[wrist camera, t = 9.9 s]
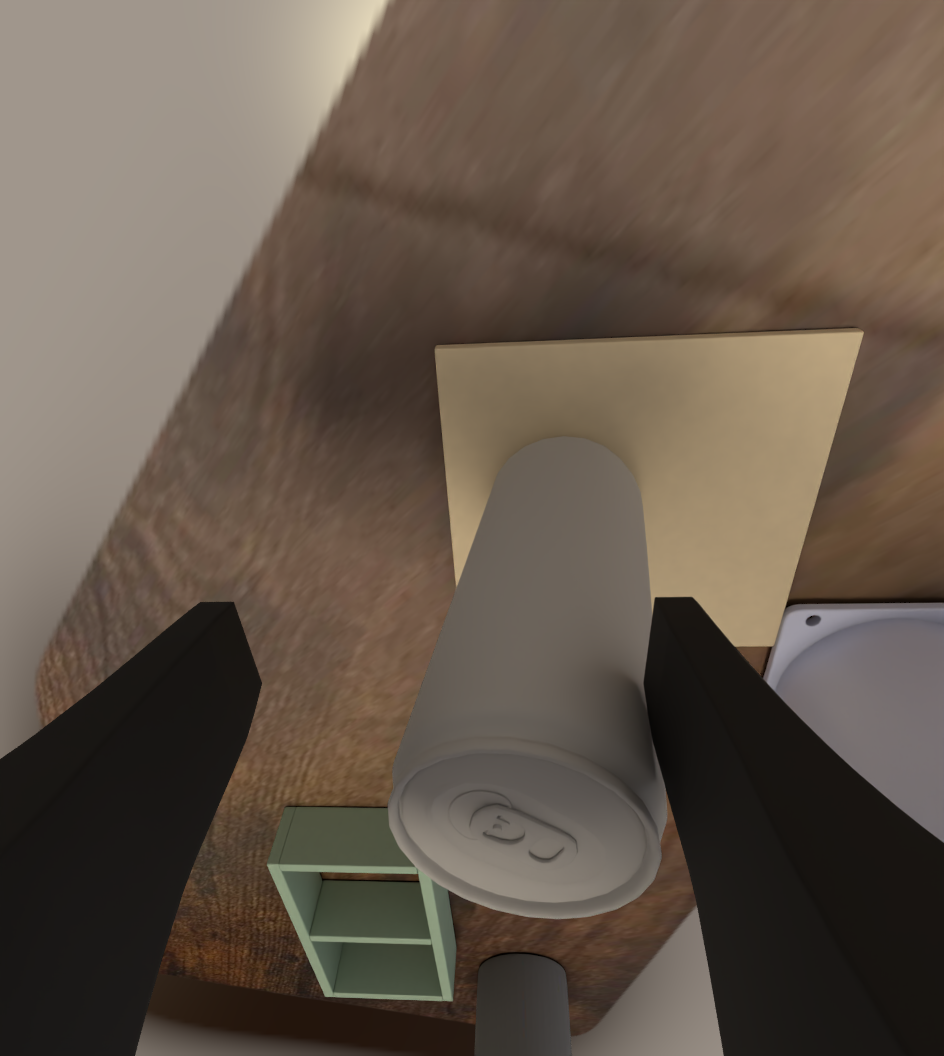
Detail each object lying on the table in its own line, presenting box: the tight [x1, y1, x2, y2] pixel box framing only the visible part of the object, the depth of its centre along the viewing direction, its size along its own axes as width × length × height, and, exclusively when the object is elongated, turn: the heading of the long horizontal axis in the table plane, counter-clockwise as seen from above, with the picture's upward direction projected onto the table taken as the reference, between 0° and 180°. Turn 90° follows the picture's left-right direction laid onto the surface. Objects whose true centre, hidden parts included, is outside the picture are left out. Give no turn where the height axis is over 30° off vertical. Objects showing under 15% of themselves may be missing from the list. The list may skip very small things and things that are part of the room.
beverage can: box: [388, 436, 667, 919], centre depth 15 cm, size 5×5×12 cm
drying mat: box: [434, 328, 864, 647], centre depth 21 cm, size 12×12×1 cm
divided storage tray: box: [267, 807, 456, 1001], centre depth 35 cm, size 8×15×3 cm, turn 3°
